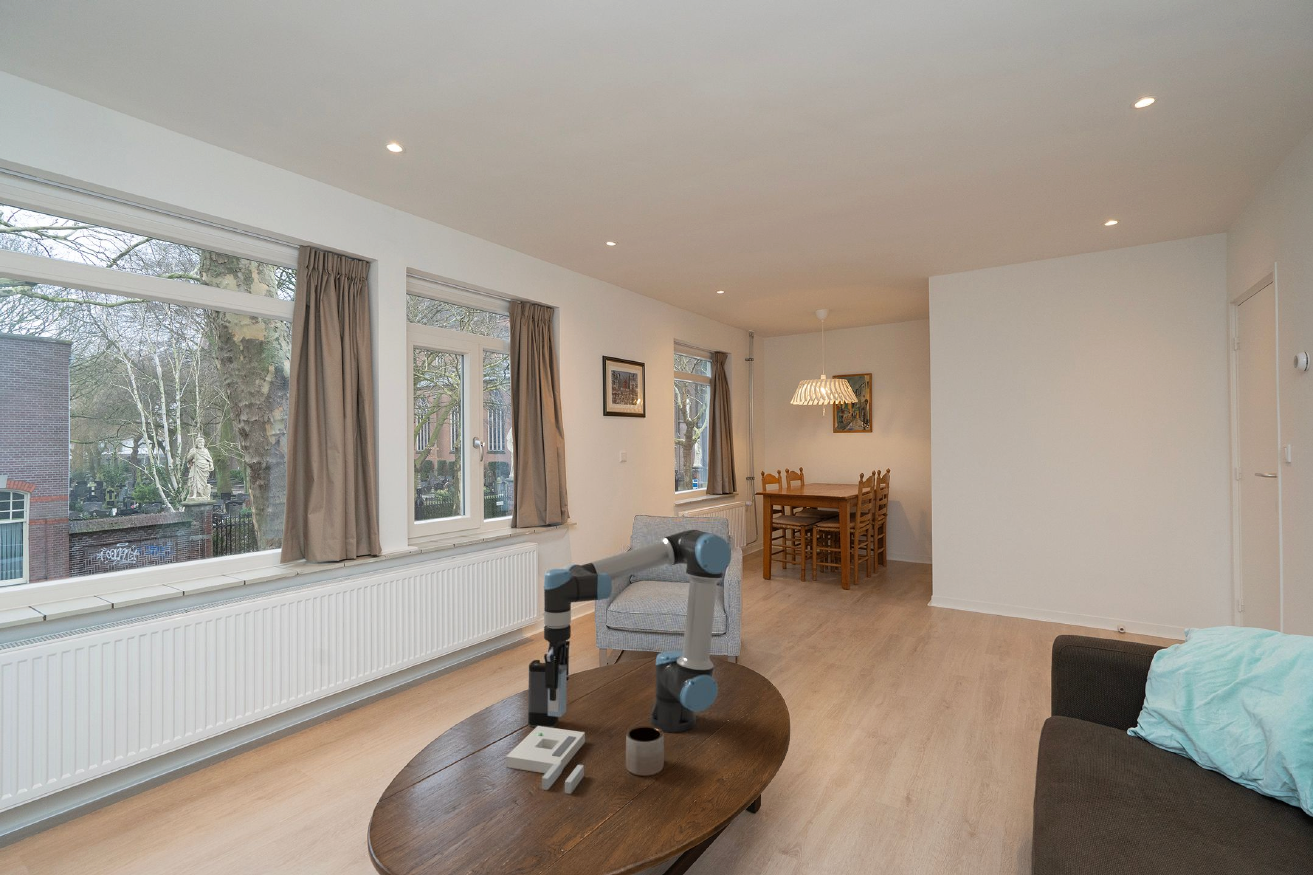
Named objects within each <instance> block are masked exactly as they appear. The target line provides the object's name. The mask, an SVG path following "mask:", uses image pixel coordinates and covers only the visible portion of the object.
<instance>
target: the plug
mask: <svg viewBox="0 0 1313 875" xmlns="http://www.w3.org/2000/svg"><path fill="white" fill-rule="evenodd" d="M566 669H567V665H566V664H564V665H561V664H559V669H558V674H559V675H558V688H559V711H558V712H553V711H549V689H548V716H556V717H558V718H562V717H563V715H564V714H565V713H566V712H567V680H566V677H567V676H566Z"/></svg>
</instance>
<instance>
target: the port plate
mask: <svg viewBox="0 0 1313 875" xmlns="http://www.w3.org/2000/svg"><path fill="white" fill-rule="evenodd" d="M585 743H586V732H585V731H584V732H583V731H577V730H569V729H561V728H556V727H553V728H549V727H542V726H537V727H534V729H533V730H532V731H531V732H530V733H528V735H527V736H526V737H525V738H523V740H521V742H520V743H518V745H516V746H515V747H514V748H513V749H511V751H510V752H509V753H508V754H507V755H506V756H505V767H506V768H509V769H510V768H511V769H517V770H523V771H528V772H535V773H536V772H537V773H542V774H546V772H547V771H548V770H549V769H550V768H551V767H552V766H553V764H559V762H562V770H564V768H565V767H566V766H567V765H568V764H569V762H570V761H571V760H572V759H573V757H574V756H575V755H576V754H577V752H578V751H579V750H580V749H581V748H582V747H583V746H584V745H585ZM555 762H557V763H555Z"/></svg>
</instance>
